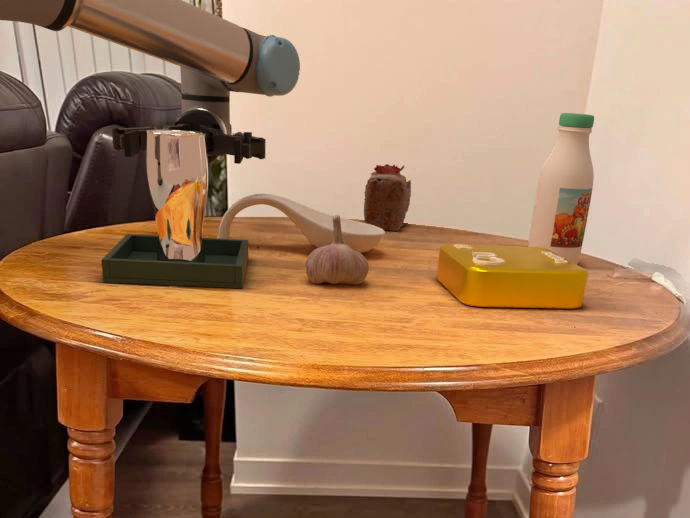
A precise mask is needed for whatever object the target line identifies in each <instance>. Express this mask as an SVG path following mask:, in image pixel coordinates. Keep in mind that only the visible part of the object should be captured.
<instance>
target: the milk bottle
mask: <svg viewBox="0 0 690 518" xmlns="http://www.w3.org/2000/svg"><path fill="white" fill-rule="evenodd" d="M594 124H595V116H594V115H592V114H587V113H574V112H562V113H560V115H559V121H558V128H557V130H558V137H557V139H556V142H555V144H554V147H552V150H551V152H550V153H549V155H548V156H547V158H546V160H545V162H544V164H543V166H542V168H541V171H540V174H539V178H538V183H537V187H536V192H535V199H534V206H533V210H532V215H531V216H532V217H531V223H530V230H529V236H528V242H527V246H529V247H544V248H546V249H548V250H550V251H552V252H554V253H556V254H558V255H560V256H562V257H563V258H565V259H567V260H569V261H571V262H573V263H574V264H576V265H578V264H579V262H580V258H581V253H582V249H583V243H584V237H585V233H586V227H587V222H588V216H589V212H590V206H591V200H592V195H593V187H594V178H595V176H594V175H595V174H594V167H593V161H592V156H591V151H590V136H591V133H592V132H593V127H594Z"/></svg>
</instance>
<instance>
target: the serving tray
mask: <svg viewBox="0 0 690 518" xmlns="http://www.w3.org/2000/svg"><path fill="white" fill-rule="evenodd" d="M203 245H204V251H205V256H206V261H207V263H197V262H176V261H156V258H157V250H158V234H156V235H155V234H138V233H135V234H133V233H126V234H125V235H124V237H122V238H121V239H120V240H119V241H118V243H116V244H115V245H114V246H113V247H112V248H111V249H110V251H108V252H107V253H106V254H105V255H104V257H102V258H101V271H102V273H101V274H102V283H103V284H104V283H105V284H106V283H107V284H128V285H150V286H172V287H173V286H175V287H193V288H194V287H195V288H196V287H197V288H198V287H199V288H217V289H218V288H219V289H220V288H221V289H240V290H241V289H243V286H244V282H245V277H246V271H247V267H248V263H249V240H248V239H235V238H229V239H218V238H217V237H216V238H215V237H203Z"/></svg>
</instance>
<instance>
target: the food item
mask: <svg viewBox="0 0 690 518" xmlns="http://www.w3.org/2000/svg"><path fill="white" fill-rule="evenodd" d="M404 169H405V165H402V166H401V167H398V165H396V164H393V165H390V164H389V163H385V164H384V165H381V164H377V165H375V167H373V170H374V171H372V172H371V173H370V177H369V178H368V179H367V181H366V184H365V189H364V193H363V194H364V199H363V200H364V203H363V219H364V223H367V224H371V225H374V226H376V227H379V228H381V229H383V230H384V231H391V232H398V231H399V230H400V229H401V227H404V224H405V223H404V222H405V219H406V215H407V212H408V211H409V207H410V204H411V197H412V182H411V181H412V180H411V179H409V180H408V181H407V177H406V176H405V175H403V174H401V171H403V170H404Z"/></svg>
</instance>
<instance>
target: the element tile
mask: <svg viewBox="0 0 690 518" xmlns="http://www.w3.org/2000/svg"><path fill="white" fill-rule="evenodd" d="M436 279H437V280H438V282H439V283H440V284H442V286H444V288H446V289H447V290H448V291H449V292H450V293H451V294H452V295H453V296H454V297H455V298H456V299H457V300H458V301H459V302H460V303H462V304H464V305H467V306H471V307H475V308H476V307H477V308H506V309H507V308H508V309H511V308H513V309H556V310H557V309H560V310H561V309H563V310H574V309H579V308H581V307H582V306H583V304H584V298H585V293H586V287H587V283H588V279H589V271H588V270H587V269H585V268H583V267H582V266H580V265H578V264H577V265H576V264H574V263H573V262H571V261H569V260H567V259H565V258H563V257H562V256H560V255H558V254H556V253H554V252H552V251H550V250H548V249H546V248H544V247H529V246H528V245H527V246H525V245H524V246H523V245H500V244H499V245H498V244H497V245H494V244H469V243H443V244H442V245H441V246H440V247H439V252H438V261H437V270H436Z"/></svg>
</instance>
